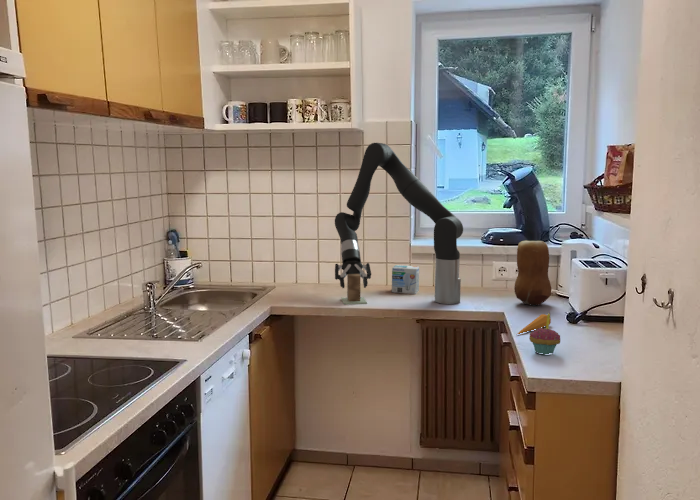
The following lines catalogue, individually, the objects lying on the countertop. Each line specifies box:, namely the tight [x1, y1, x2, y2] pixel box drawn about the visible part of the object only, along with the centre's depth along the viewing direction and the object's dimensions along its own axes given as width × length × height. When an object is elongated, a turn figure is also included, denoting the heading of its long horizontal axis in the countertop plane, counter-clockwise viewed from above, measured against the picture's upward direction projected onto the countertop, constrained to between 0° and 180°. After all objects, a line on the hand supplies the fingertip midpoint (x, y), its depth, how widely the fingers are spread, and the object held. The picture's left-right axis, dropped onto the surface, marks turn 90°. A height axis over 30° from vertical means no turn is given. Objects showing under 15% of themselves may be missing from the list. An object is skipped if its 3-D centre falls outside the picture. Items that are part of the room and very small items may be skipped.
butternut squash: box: [514, 240, 552, 306], centre depth 226 cm, size 14×13×25 cm
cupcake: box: [529, 310, 561, 354], centre depth 169 cm, size 9×8×12 cm
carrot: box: [517, 313, 552, 334], centre depth 192 cm, size 20×4×4 cm, turn 133°
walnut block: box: [346, 274, 361, 301], centre depth 232 cm, size 4×4×10 cm
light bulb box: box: [391, 264, 420, 295], centre depth 250 cm, size 11×7×11 cm, turn 73°
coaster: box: [340, 296, 368, 305], centre depth 233 cm, size 9×9×1 cm
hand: (354, 286), depth 230 cm, fingers open, 8 cm apart
